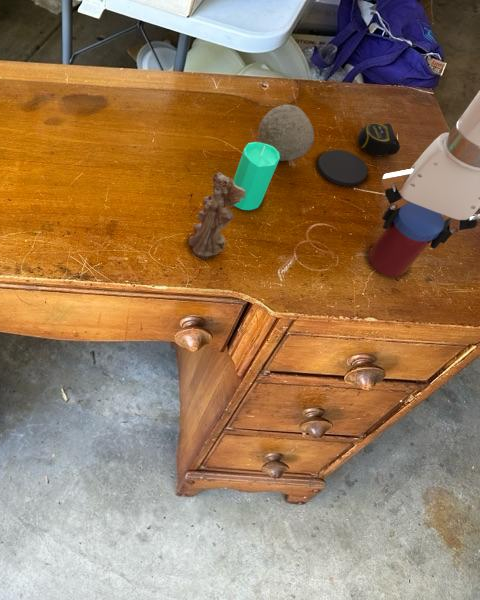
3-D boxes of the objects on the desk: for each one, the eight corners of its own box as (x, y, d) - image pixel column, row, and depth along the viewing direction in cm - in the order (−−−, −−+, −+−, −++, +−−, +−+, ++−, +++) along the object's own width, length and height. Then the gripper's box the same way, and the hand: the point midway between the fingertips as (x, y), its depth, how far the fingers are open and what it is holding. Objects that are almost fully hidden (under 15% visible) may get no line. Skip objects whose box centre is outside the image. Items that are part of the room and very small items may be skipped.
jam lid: (443, 219, 89) (449, 212, 87) (434, 248, 85) (440, 241, 84) (398, 202, 91) (403, 194, 89) (388, 230, 87) (393, 223, 86)
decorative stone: (242, 146, 111) (256, 102, 103) (275, 132, 113) (292, 89, 105) (276, 179, 106) (295, 136, 98) (310, 164, 108) (331, 121, 100)
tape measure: (394, 160, 110) (404, 145, 107) (359, 158, 110) (367, 143, 107) (385, 136, 114) (394, 121, 111) (351, 134, 114) (359, 119, 110)
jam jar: (411, 256, 96) (445, 214, 88) (402, 282, 93) (437, 241, 85) (373, 241, 98) (403, 198, 89) (363, 266, 95) (394, 224, 86)
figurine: (176, 237, 97) (193, 172, 85) (203, 223, 99) (224, 157, 87) (204, 266, 94) (226, 202, 81) (231, 251, 96) (257, 187, 83)
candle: (221, 196, 103) (238, 144, 93) (243, 181, 105) (262, 129, 95) (246, 215, 101) (267, 164, 91) (268, 200, 103) (290, 148, 93)
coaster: (371, 163, 109) (372, 160, 108) (358, 192, 105) (360, 189, 104) (325, 146, 111) (326, 143, 111) (311, 174, 107) (312, 171, 106)
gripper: (552, 151, 74) (471, 239, 89) (417, 105, 79) (361, 196, 94) (547, 186, 71) (462, 272, 85) (405, 136, 75) (349, 226, 90)
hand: (410, 232), depth 89 cm, fingers closed on jam lid, 6 cm apart
